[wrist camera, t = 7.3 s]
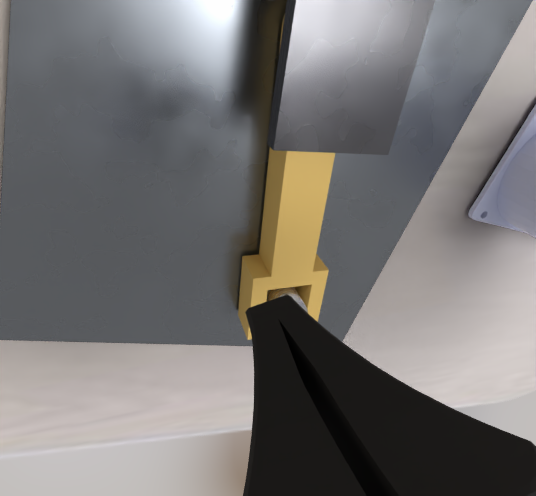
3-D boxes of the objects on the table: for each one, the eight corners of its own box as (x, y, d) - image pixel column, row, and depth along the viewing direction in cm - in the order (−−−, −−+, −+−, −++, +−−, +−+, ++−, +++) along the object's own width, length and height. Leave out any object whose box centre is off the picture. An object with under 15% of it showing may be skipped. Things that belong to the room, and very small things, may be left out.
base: (530, -30, 18) (618, -34, 15) (331, 338, 28) (359, 382, 25) (39, -393, 10) (2, -582, 6) (-1, 325, 19) (-24, 391, 16)
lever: (302, 305, 24) (316, 328, 22) (238, 315, 22) (247, 339, 21) (359, -1, 15) (387, 0, 14) (262, -13, 14) (281, -13, 13)
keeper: (339, 125, 19) (388, 154, 16) (242, 119, 18) (273, 150, 14) (387, -81, 15) (465, -101, 12) (267, -115, 14) (318, -149, 10)
